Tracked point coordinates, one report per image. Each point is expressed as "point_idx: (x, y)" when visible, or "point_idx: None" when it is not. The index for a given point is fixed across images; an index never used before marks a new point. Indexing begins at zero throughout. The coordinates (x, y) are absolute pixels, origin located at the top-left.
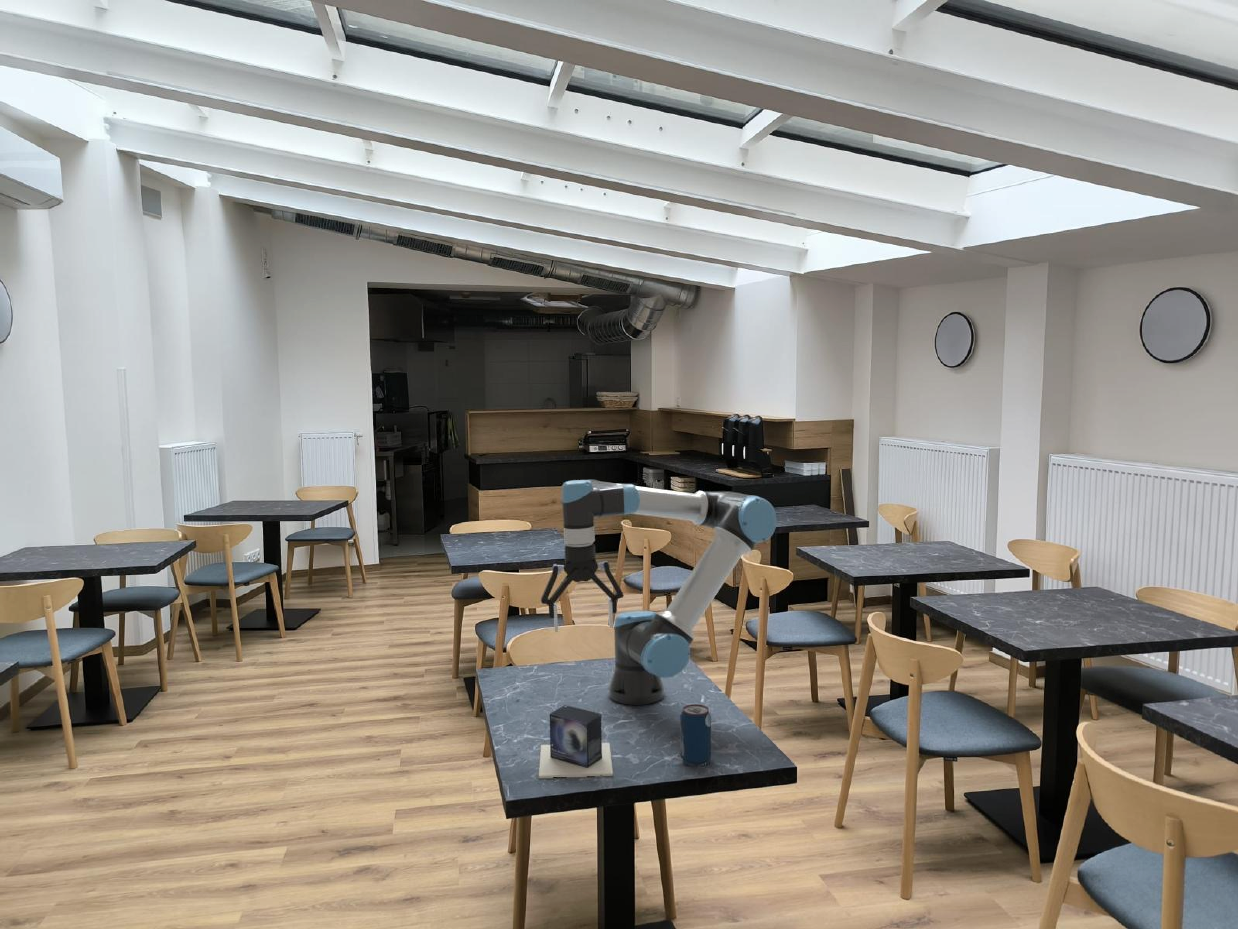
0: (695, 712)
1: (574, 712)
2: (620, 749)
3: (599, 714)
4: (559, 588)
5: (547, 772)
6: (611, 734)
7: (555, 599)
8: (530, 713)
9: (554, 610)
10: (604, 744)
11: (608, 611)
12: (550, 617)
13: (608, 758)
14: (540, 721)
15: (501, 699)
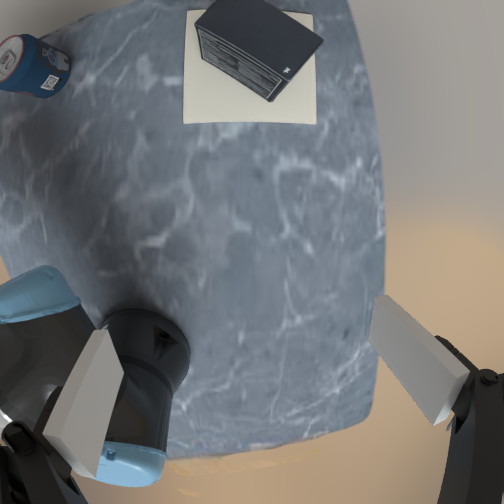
0: (8, 52)
1: (263, 31)
2: (164, 106)
3: (199, 19)
4: (501, 477)
5: (299, 21)
6: (178, 174)
7: (484, 406)
8: (331, 282)
9: (450, 357)
10: (193, 115)
11: (107, 418)
12: (439, 337)
13: (189, 57)
14: (315, 245)
15: (368, 336)
